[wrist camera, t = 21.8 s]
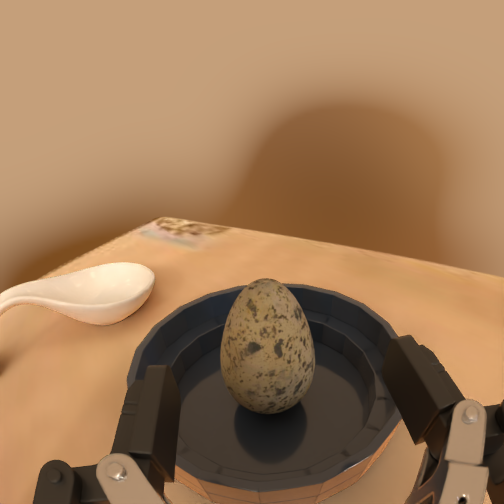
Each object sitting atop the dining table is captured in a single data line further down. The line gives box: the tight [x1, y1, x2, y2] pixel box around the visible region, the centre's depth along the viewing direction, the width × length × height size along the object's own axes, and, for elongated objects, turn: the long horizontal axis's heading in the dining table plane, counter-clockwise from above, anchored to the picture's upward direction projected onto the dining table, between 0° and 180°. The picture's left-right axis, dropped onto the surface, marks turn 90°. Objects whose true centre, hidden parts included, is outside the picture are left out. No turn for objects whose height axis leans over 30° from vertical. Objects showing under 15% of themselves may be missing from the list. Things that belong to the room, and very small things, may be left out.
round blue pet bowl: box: [127, 283, 402, 504], centre depth 19 cm, size 18×18×5 cm
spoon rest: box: [0, 262, 155, 325], centre depth 27 cm, size 24×12×7 cm, turn 138°
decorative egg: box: [220, 279, 315, 414], centre depth 18 cm, size 6×6×10 cm
